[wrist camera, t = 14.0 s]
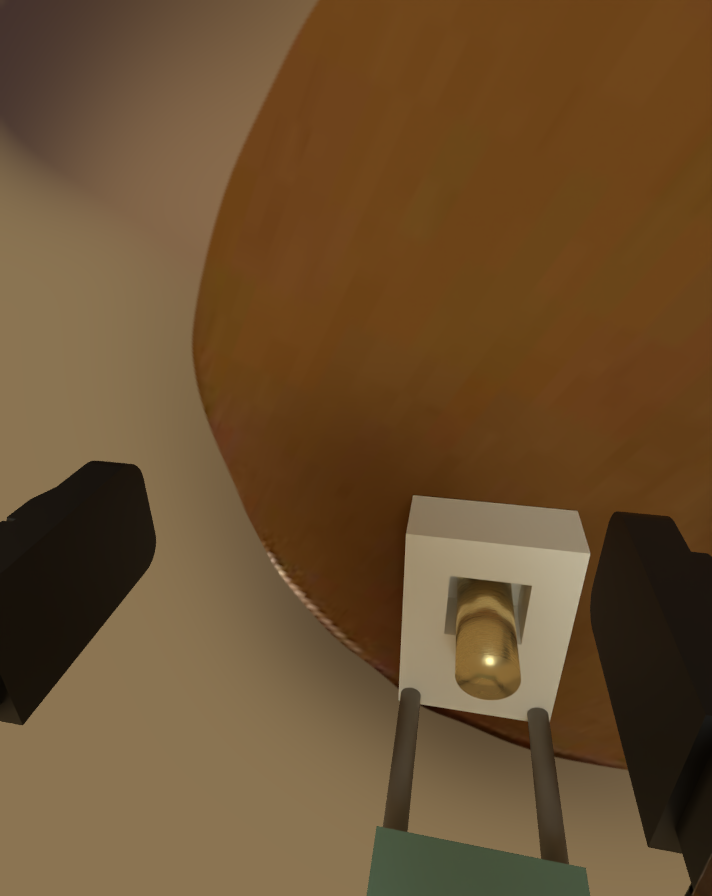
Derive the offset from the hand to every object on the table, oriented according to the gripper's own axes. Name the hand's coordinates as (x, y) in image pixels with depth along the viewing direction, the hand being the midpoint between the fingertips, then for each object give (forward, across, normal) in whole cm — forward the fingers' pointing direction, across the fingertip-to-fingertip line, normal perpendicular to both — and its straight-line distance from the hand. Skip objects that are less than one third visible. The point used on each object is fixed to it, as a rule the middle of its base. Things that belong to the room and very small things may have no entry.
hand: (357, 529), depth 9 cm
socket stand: (+28, -5, +25) cm, 38 cm away
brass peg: (+27, -5, +23) cm, 36 cm away
